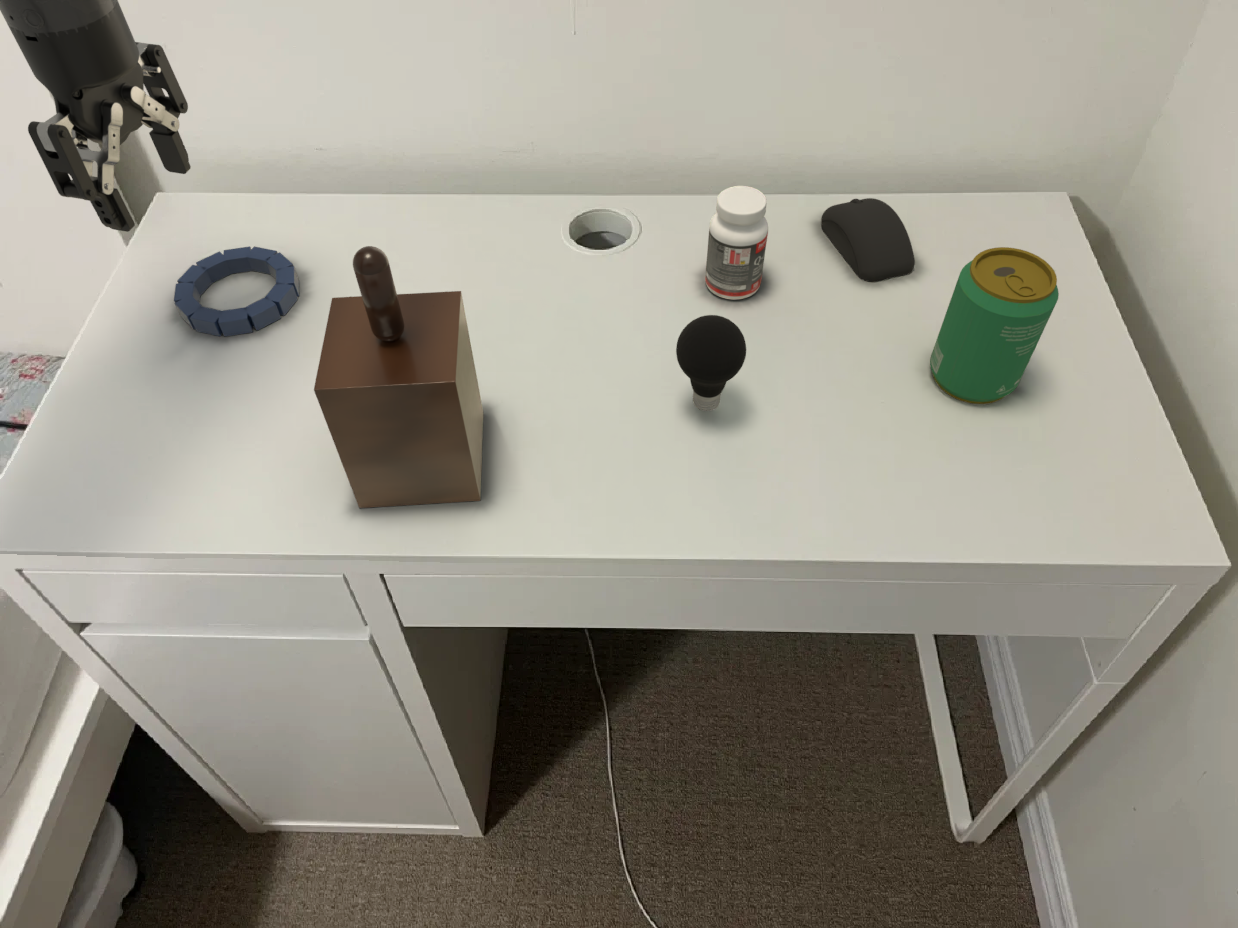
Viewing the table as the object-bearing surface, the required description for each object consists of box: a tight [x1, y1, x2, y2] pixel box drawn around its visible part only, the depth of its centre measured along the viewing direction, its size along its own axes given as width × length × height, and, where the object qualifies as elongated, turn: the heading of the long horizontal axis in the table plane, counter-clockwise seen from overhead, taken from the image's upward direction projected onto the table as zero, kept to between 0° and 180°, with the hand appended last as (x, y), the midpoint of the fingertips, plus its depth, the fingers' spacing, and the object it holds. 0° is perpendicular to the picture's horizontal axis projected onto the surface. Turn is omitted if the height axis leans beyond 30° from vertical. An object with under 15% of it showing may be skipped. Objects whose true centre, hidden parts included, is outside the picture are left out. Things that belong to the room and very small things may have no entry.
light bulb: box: [675, 314, 747, 412], centre depth 78 cm, size 6×6×10 cm
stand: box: [313, 245, 484, 509], centre depth 70 cm, size 10×10×22 cm
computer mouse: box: [820, 197, 916, 283], centre depth 95 cm, size 6×11×4 cm, turn 18°
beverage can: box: [929, 246, 1060, 405], centre depth 79 cm, size 8×8×12 cm
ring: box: [173, 245, 300, 337], centre depth 92 cm, size 12×12×2 cm
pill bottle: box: [704, 185, 769, 301], centre depth 89 cm, size 6×6×10 cm
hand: (151, 198), depth 78 cm, fingers open, 8 cm apart
